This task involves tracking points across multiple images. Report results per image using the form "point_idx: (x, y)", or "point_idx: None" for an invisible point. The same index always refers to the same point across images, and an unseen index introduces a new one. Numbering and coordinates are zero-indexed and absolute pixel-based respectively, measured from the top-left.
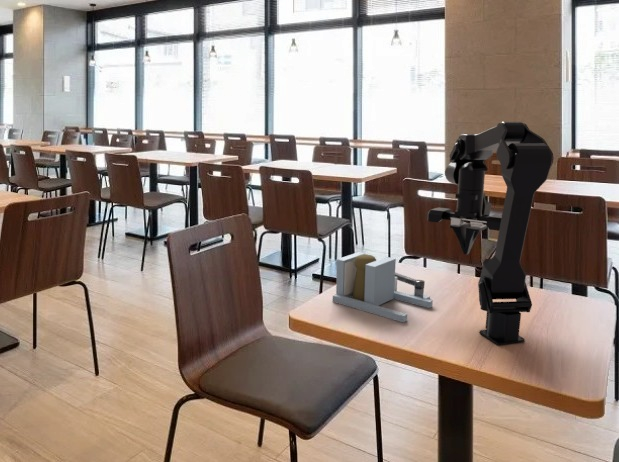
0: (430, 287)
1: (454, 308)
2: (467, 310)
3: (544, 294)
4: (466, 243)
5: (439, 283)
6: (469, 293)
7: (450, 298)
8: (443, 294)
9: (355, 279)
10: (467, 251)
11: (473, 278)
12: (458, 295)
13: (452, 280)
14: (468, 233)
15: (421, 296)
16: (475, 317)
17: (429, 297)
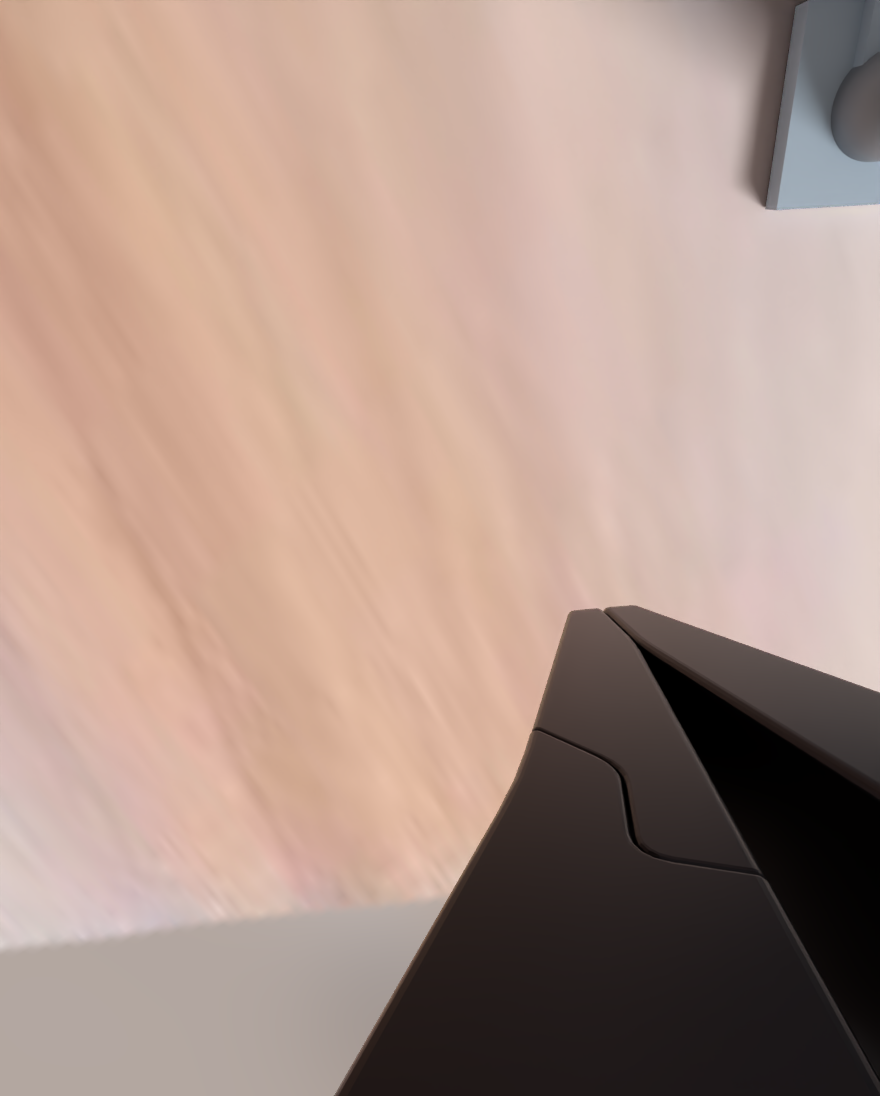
0: (854, 492)
1: (459, 130)
2: (342, 177)
3: (162, 867)
4: (630, 705)
5: (817, 622)
6: (532, 581)
7: (606, 365)
8: (697, 414)
9: None
10: (564, 629)
11: None
12: (582, 482)
13: None
14: (659, 1004)
15: (850, 80)
16: (183, 38)
17: (773, 199)
